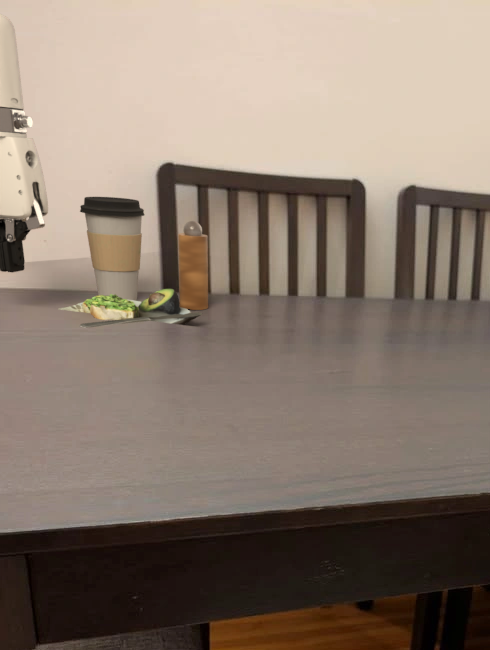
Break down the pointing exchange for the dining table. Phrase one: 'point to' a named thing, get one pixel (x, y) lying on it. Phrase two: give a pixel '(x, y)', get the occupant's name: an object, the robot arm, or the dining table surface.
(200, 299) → the pepper grinder
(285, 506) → the dining table surface
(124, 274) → the coffee cup
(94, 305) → the avocado toast
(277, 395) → the dining table surface
